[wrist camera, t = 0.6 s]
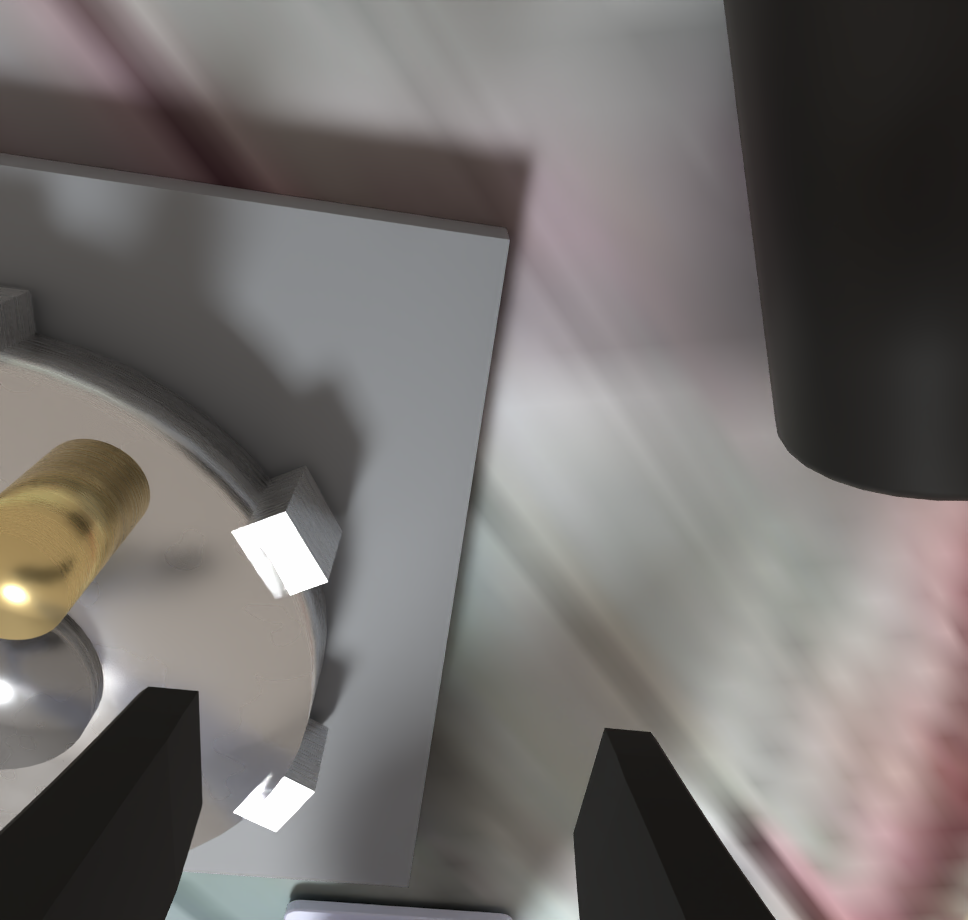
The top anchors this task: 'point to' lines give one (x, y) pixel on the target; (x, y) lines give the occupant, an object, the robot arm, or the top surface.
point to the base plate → (301, 433)
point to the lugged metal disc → (151, 580)
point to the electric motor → (861, 232)
